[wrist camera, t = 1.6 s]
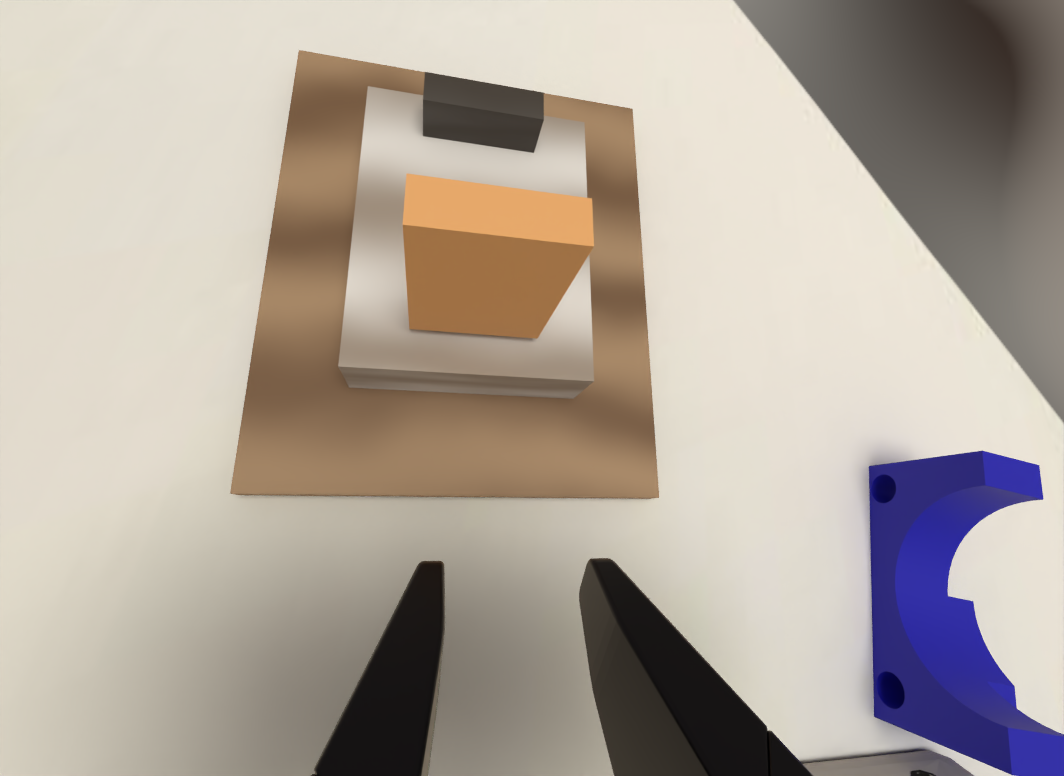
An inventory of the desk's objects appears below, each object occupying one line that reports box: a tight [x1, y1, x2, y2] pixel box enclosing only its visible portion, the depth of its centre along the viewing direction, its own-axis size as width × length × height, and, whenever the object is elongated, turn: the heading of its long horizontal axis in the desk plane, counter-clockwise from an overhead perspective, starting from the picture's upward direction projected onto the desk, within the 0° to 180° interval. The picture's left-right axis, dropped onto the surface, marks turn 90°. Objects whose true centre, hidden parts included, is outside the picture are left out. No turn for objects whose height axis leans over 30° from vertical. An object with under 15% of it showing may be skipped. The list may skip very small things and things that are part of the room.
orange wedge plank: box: [403, 173, 594, 339], centre depth 16 cm, size 7×5×2 cm
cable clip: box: [869, 451, 1064, 776], centre depth 23 cm, size 12×4×6 cm, turn 169°
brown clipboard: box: [230, 50, 659, 499], centre depth 22 cm, size 22×18×6 cm
